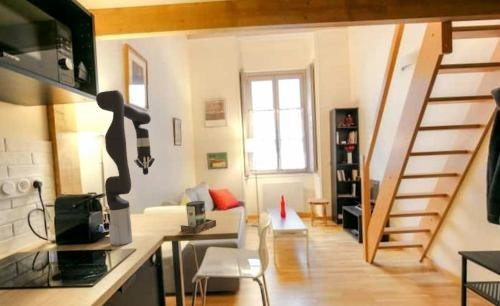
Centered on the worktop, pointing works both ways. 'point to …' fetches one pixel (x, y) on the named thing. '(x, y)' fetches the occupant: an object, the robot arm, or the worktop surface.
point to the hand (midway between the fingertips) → (145, 174)
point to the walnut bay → (199, 226)
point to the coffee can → (196, 213)
